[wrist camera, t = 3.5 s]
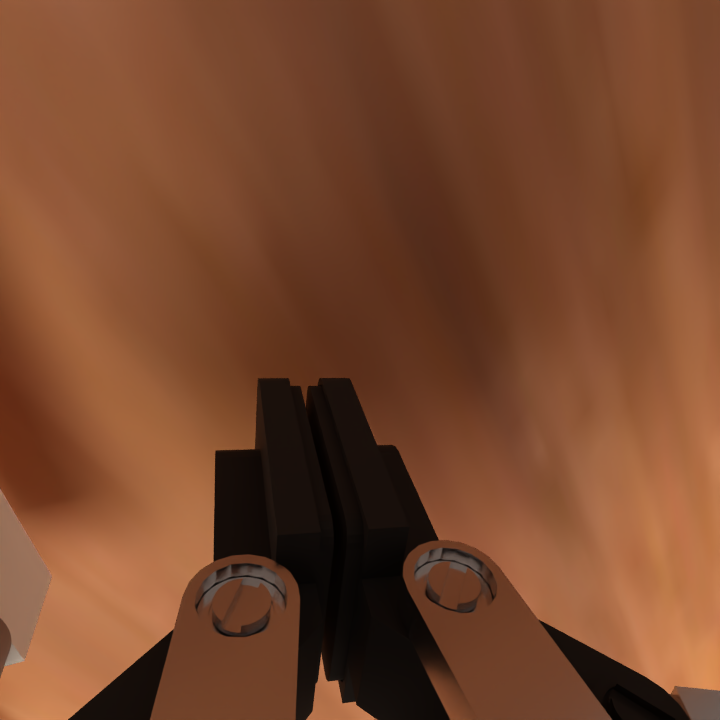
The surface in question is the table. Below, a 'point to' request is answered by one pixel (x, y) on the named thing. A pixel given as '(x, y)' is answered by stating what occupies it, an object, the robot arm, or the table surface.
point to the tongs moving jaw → (18, 587)
